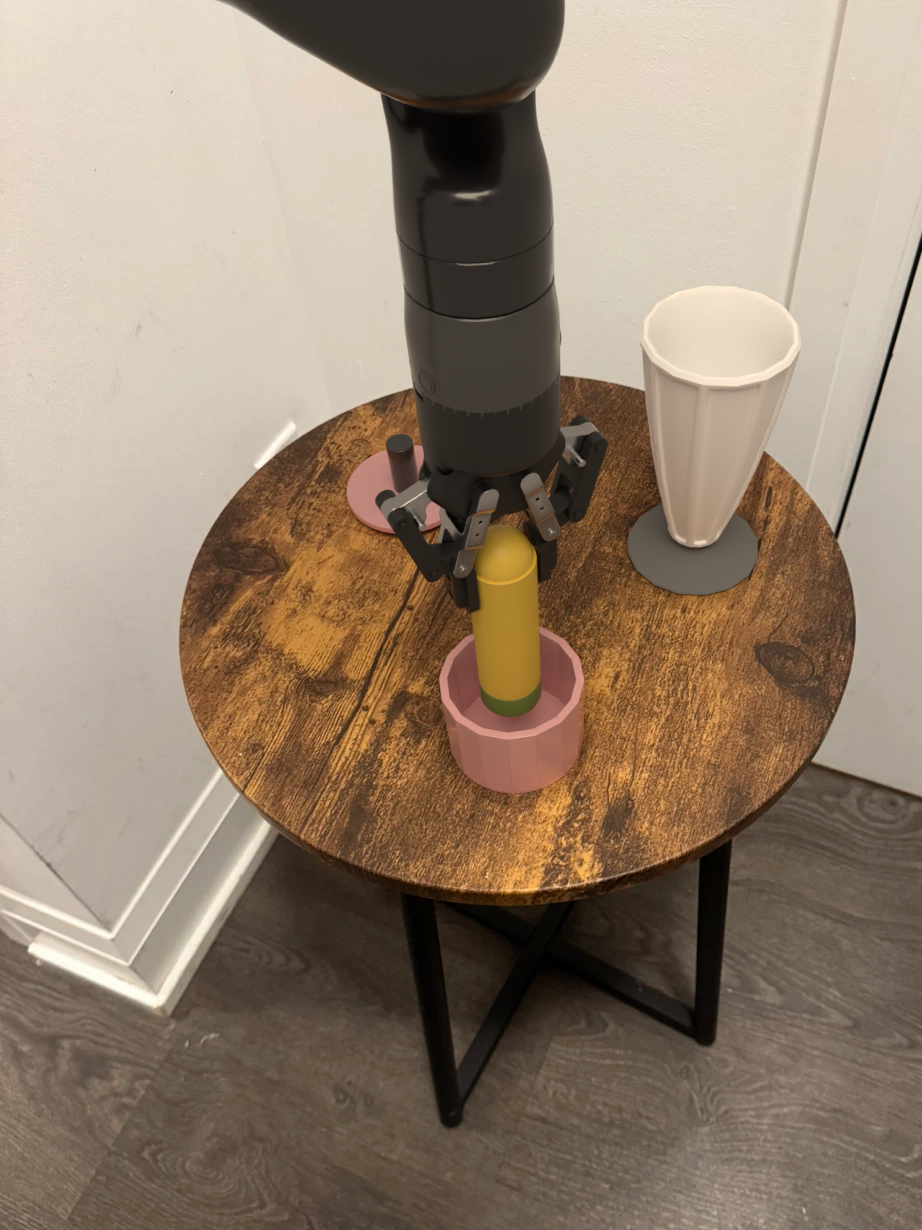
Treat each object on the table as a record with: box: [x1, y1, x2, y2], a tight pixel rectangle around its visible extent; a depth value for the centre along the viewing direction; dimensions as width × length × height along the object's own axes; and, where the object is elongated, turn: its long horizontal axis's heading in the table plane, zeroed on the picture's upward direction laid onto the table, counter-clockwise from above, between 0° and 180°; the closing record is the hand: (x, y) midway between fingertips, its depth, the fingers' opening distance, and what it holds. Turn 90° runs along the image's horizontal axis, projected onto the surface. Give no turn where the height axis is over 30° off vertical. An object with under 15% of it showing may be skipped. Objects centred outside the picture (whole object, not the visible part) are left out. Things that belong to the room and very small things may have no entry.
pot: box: [438, 625, 585, 794], centre depth 77 cm, size 10×10×8 cm
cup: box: [626, 285, 802, 596], centre depth 82 cm, size 12×12×22 cm
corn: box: [470, 524, 541, 717], centre depth 68 cm, size 4×4×16 cm
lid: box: [346, 433, 441, 535], centre depth 93 cm, size 11×11×6 cm
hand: (502, 587), depth 66 cm, fingers closed on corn, 4 cm apart
